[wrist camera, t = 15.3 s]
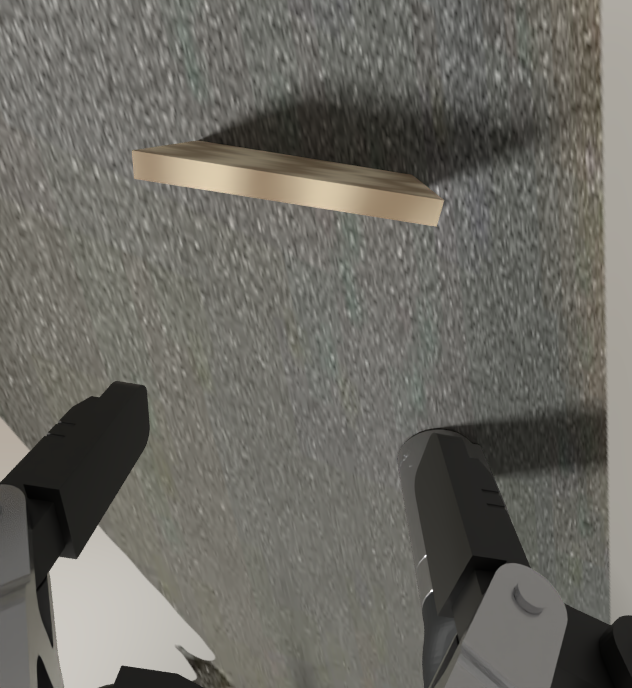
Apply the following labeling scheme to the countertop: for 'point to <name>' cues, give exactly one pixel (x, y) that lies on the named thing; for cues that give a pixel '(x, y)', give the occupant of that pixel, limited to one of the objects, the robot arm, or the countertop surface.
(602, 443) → the countertop surface
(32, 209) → the countertop surface
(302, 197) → the thin wooden plank
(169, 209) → the countertop surface
